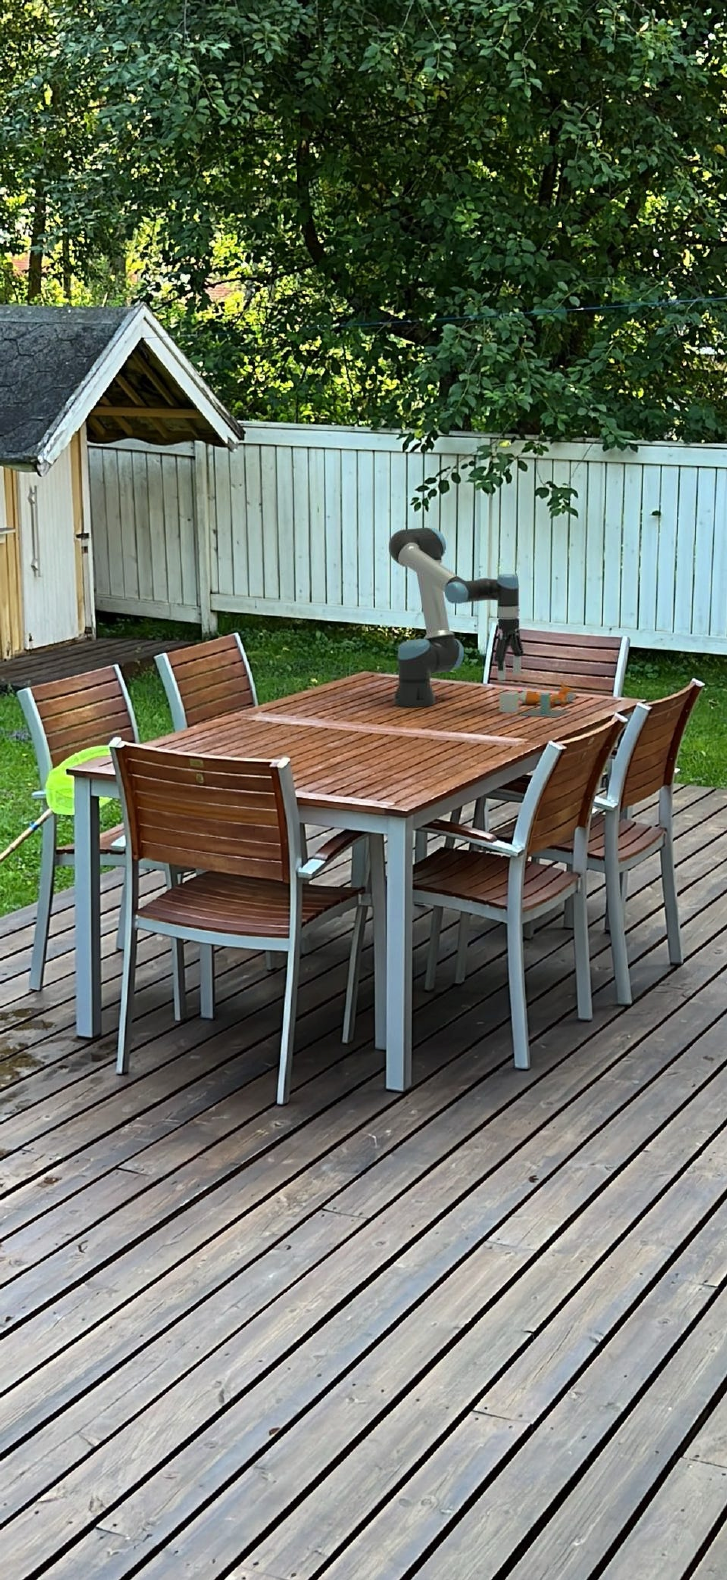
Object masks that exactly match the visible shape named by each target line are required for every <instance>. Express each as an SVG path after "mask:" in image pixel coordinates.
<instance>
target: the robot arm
mask: <svg viewBox="0 0 727 1580" xmlns="http://www.w3.org/2000/svg"><path fill="white" fill-rule="evenodd" d="M446 550H447V542H446V539H445V537H444V535H443V534H442V532H441V531H440V530H438V529H437V528H435V527H419V528H417V527H415V528H407V529H405V528H403V529H400V530H398V531H396V532H395V533H394V534H393V535H392V536H391V537H390V539H389V542H388V552H389V555H390V557H391V558H392V559H393V560H394V562H396V563H397V564H398V565H400V566H401V567H403V568H409V569H411V570H412V571H413V572H414V573H416V578H417V584H418V589H419V595H420V602H421V607H422V614H423V620H424V624H425V625H424V626H425V630H426V631H425V632H426V634H425V636H424V637H423V638H421V639H420V638H419V639H417V638H416V639H410V640H406V641H403V642H401V643H400V644H399V645H398V648H397V650H398V651H397V653H398V654H397V664H398V684H397V685H398V686H397V688H396V692H395V695H394V699H393V702H394V704H393V705H395V706H397V707H406V708H422V707H430V706H434V705H436V697H435V694H434V691H433V688H432V685H431V674H432V675H433V674H439V673H448V672H451V671H455V670H456V669H459V668H460V666H461V664H462V663H463V660H464V656H465V655H464V653H465V651H464V646H463V645H462V643H461V641H460V640H458V639H457V638H455V637H456V636H455V633H454V632H453V631H451V630H450V626H449V621H448V614H447V609H446V601H445V598H446V600H447V602H449V603H450V604H459V605H460V604H463V603H473V602H483V601H497V617H498V619H497V629H498V630H501V631H502V632H499V633H498V634H497V643H496V646H495V648H496V649H495V653H494V654H495V655H494V662H496V663H497V680H498V681H499V680H500V681H506V680H507V679H506V678H507V677H506V676H507V675H506V673H507V671H506V661H505V660H506V656H507V653H508V652H507V651H508V648H509V647H510V649H511V651H512V653H513V656H512V665H513V666H512V675H516V676H521V675H522V659H521V657H524V654H525V653H524V647H523V644H522V639H521V633H520V618H519V616H520V611H521V609H520V599H519V597H520V596H519V595H520V584H519V577H518V575H517V574H515V573H503V574H502V573H501V574H498V575H497V577H496V578H497V579H496V578H487V577H484V578H483V577H482V578H480V577H479V578H477V579H474V580H473V579H472V580H471V579H470V580H465V579H463V578H461V577H460V576H458V575H457V574H455V572H453V571H451V570H450V569H448V568H447V567H445V566H444V565H443V564H442V562H443V559H442V558H443V556H444V555H445V553H446Z"/></svg>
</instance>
